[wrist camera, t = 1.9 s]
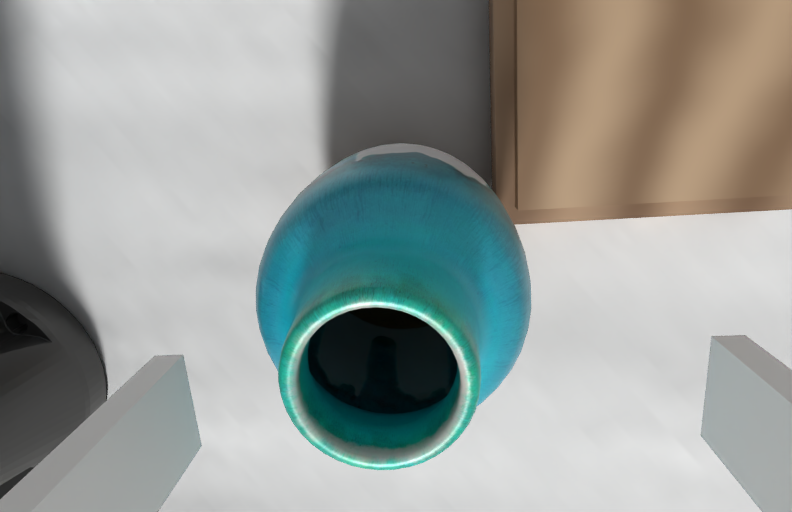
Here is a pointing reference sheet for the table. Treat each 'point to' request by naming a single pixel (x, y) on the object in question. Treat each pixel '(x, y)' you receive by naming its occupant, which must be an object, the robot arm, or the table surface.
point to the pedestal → (640, 107)
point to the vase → (392, 304)
